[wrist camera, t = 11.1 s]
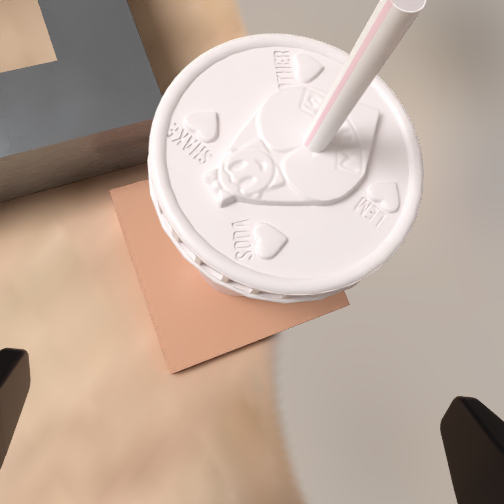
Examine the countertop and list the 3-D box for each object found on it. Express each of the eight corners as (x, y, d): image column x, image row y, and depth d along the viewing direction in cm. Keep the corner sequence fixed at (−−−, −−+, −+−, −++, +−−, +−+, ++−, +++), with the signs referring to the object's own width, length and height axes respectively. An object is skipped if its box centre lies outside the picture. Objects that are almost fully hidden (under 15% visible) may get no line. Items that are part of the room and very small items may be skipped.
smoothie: (338, 284, 20) (678, 120, 6) (207, 358, 18) (287, 351, 5) (265, 160, 21) (430, -220, 7) (134, 221, 19) (25, -119, 6)
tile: (345, 306, 20) (349, 304, 20) (170, 373, 18) (170, 374, 18) (279, 145, 21) (282, 140, 21) (110, 194, 20) (109, 190, 19)
